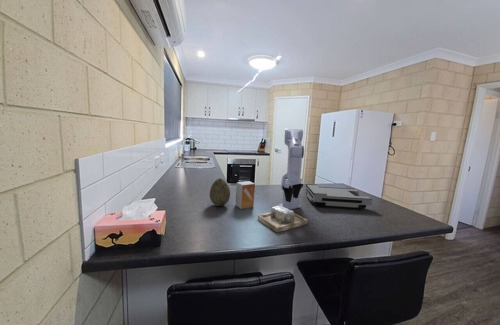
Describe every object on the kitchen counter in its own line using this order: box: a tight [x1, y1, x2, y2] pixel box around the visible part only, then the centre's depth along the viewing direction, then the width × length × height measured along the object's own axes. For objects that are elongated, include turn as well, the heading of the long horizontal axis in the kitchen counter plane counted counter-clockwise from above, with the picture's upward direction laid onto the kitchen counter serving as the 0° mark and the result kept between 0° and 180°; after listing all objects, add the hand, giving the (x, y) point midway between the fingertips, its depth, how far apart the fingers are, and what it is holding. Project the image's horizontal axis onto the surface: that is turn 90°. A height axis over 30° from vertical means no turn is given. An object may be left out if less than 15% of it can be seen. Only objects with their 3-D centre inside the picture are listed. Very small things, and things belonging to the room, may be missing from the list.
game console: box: [304, 183, 373, 211], centre depth 125 cm, size 21×32×8 cm, turn 88°
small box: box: [235, 180, 256, 210], centre depth 111 cm, size 8×6×13 cm
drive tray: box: [257, 212, 308, 233], centre depth 95 cm, size 18×14×4 cm
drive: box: [271, 204, 295, 223], centre depth 95 cm, size 5×9×5 cm, turn 41°
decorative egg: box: [209, 177, 231, 207], centre depth 109 cm, size 11×11×15 cm
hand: (291, 199), depth 98 cm, fingers open, 7 cm apart
